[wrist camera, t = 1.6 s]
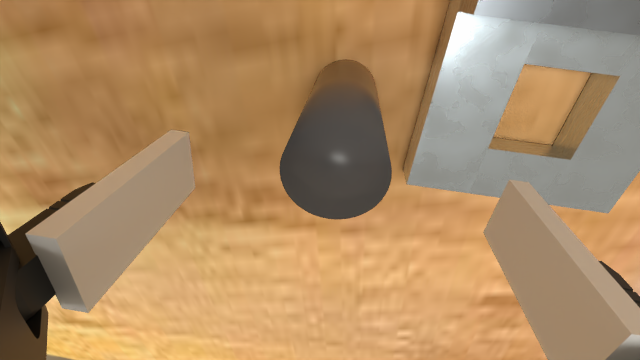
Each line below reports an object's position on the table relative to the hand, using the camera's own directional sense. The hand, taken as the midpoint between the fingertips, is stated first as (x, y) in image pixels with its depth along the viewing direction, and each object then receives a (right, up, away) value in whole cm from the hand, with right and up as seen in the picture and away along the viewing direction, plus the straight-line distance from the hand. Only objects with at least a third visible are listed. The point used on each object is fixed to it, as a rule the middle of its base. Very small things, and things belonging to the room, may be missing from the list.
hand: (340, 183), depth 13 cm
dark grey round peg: (+1, +7, +11) cm, 13 cm away
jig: (+15, +6, +10) cm, 19 cm away
